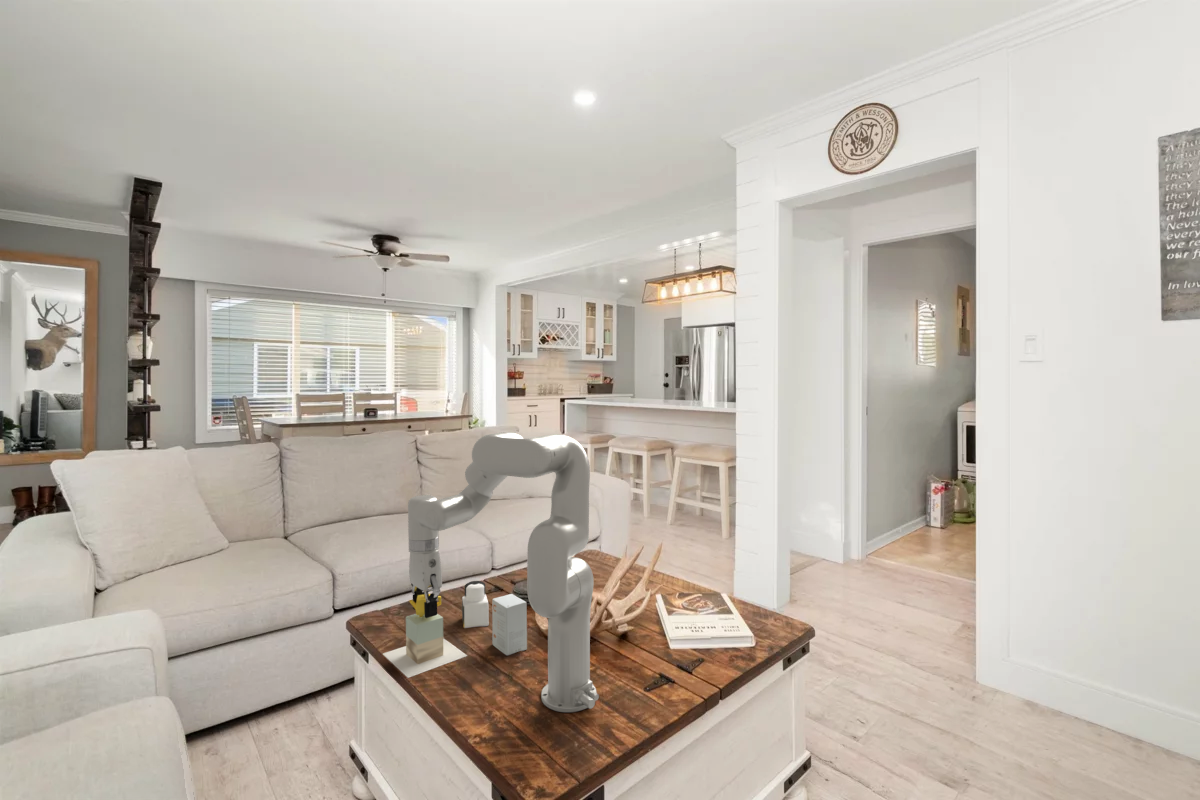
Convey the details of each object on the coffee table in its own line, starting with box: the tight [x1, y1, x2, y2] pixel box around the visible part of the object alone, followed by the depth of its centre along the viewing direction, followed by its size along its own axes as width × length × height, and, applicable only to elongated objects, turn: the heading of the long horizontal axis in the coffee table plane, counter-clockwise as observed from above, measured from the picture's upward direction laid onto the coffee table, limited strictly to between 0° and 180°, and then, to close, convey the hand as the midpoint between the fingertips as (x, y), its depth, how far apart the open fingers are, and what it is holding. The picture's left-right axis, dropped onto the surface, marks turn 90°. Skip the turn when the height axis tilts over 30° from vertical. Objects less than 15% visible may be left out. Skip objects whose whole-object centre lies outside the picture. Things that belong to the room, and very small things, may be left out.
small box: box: [491, 593, 528, 656], centre depth 150 cm, size 8×6×13 cm
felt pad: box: [382, 637, 468, 679], centre depth 146 cm, size 16×16×1 cm
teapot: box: [408, 593, 442, 617], centre depth 145 cm, size 8×6×5 cm
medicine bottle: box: [461, 580, 490, 629], centre depth 166 cm, size 7×7×12 cm
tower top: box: [405, 613, 444, 645], centre depth 146 cm, size 7×7×5 cm
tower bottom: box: [405, 635, 444, 664], centre depth 146 cm, size 7×7×5 cm
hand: (424, 611), depth 145 cm, fingers closed on teapot, 6 cm apart
